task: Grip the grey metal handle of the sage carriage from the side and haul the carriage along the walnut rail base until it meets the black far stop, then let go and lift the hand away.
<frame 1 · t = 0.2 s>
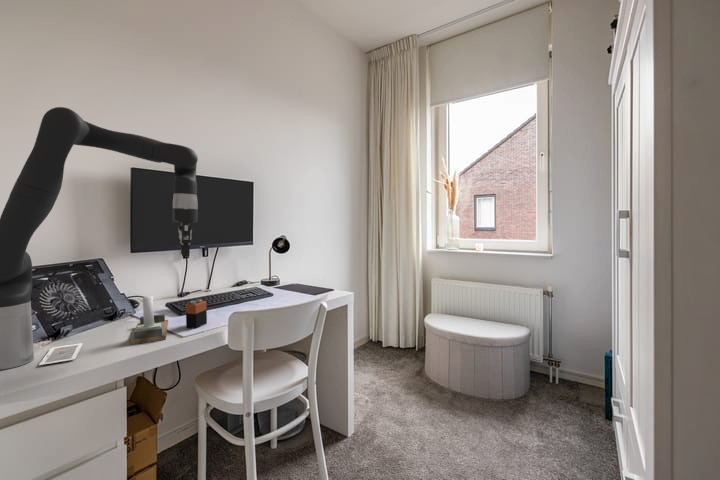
hand: (185, 255, 115), 29 cm above the table, tool pointing down, fingers open, 8 cm apart
battery: (196, 326, 131), on the table
keeper: (148, 314, 116), point 8 cm above the table, slide at -6.0 cm
rail base: (151, 333, 122), on the table
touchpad: (62, 357, 102), on the table
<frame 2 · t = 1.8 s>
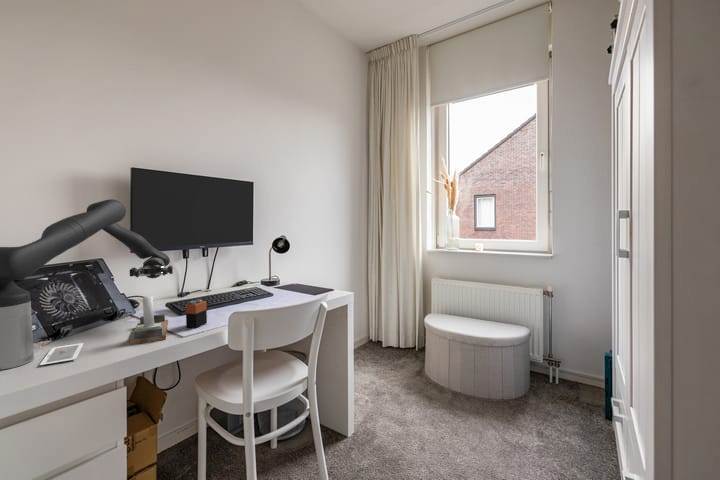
hand: (150, 273, 126), 21 cm above the table, tool horizontal, fingers open, 8 cm apart
nothing on the table moved.
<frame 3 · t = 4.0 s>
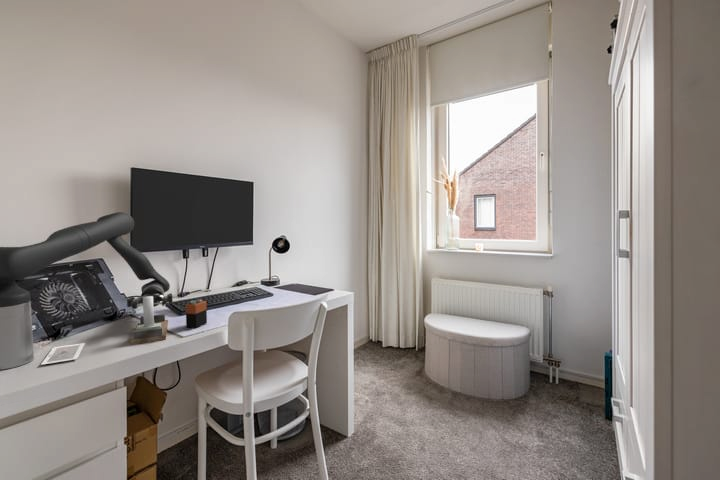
hand: (149, 304, 120), 11 cm above the table, tool horizontal, fingers open, 8 cm apart
nothing on the table moved.
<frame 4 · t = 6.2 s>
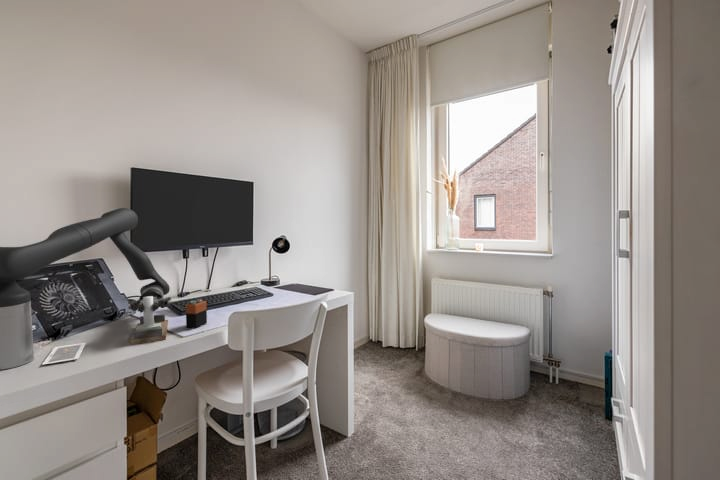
hand: (147, 308, 113), 11 cm above the table, tool horizontal, fingers closed on keeper, 3 cm apart
keeper: (148, 314, 116), point 8 cm above the table, slide at -6.0 cm, touching gripper
everything else where it was.
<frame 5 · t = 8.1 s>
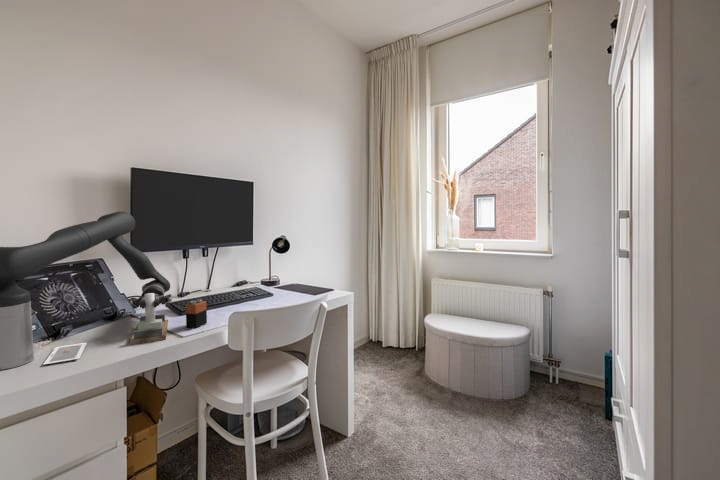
hand: (149, 305, 118), 11 cm above the table, tool horizontal, fingers closed on keeper, 3 cm apart
keeper: (150, 310, 121), point 8 cm above the table, slide at -0.4 cm, touching gripper
everything else where it was.
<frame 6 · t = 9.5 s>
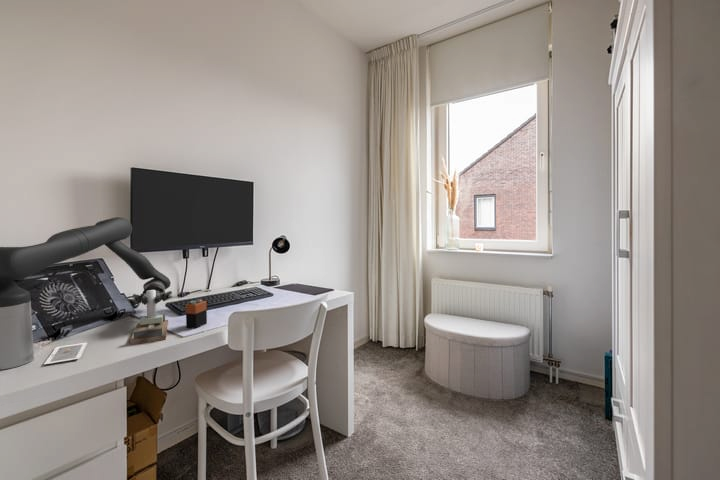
hand: (150, 301, 124), 11 cm above the table, tool horizontal, fingers closed on keeper, 3 cm apart
keeper: (151, 306, 126), point 8 cm above the table, slide at 5.7 cm, touching gripper
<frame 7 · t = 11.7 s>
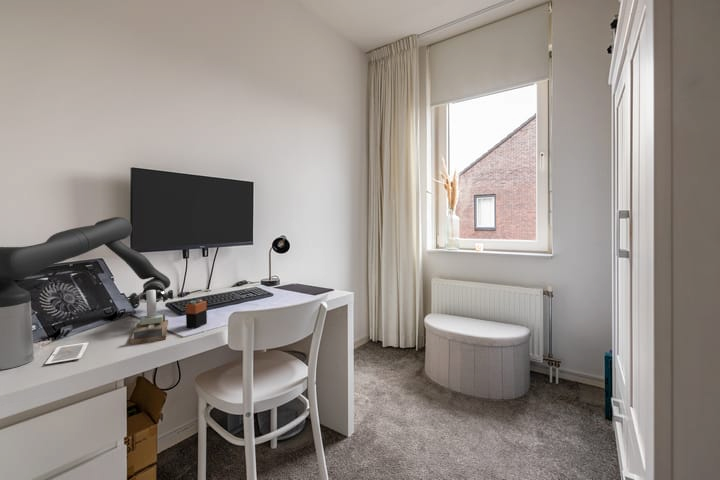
hand: (150, 300, 125), 11 cm above the table, tool horizontal, fingers open, 8 cm apart
keeper: (151, 306, 127), point 8 cm above the table, slide at 5.8 cm
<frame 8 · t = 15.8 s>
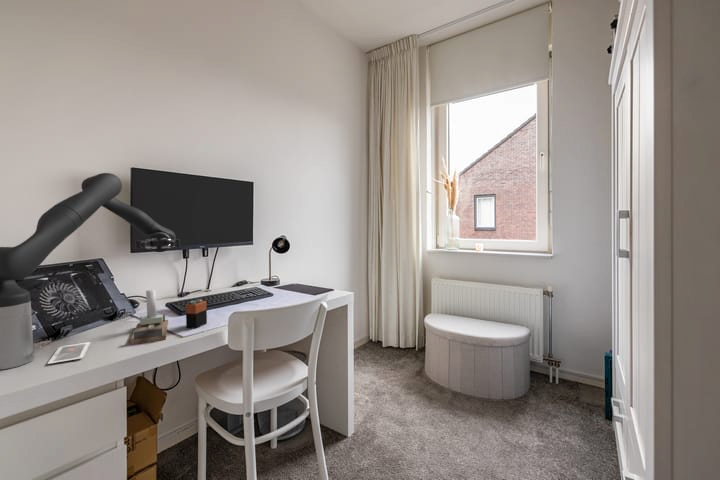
hand: (157, 244, 121), 32 cm above the table, tool horizontal, fingers open, 8 cm apart
at the end: keeper slide at 5.8 cm; the gripper is holding nothing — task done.
